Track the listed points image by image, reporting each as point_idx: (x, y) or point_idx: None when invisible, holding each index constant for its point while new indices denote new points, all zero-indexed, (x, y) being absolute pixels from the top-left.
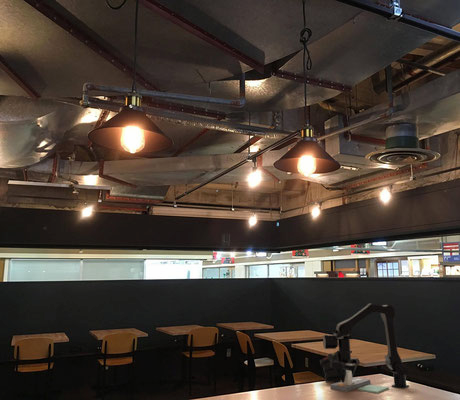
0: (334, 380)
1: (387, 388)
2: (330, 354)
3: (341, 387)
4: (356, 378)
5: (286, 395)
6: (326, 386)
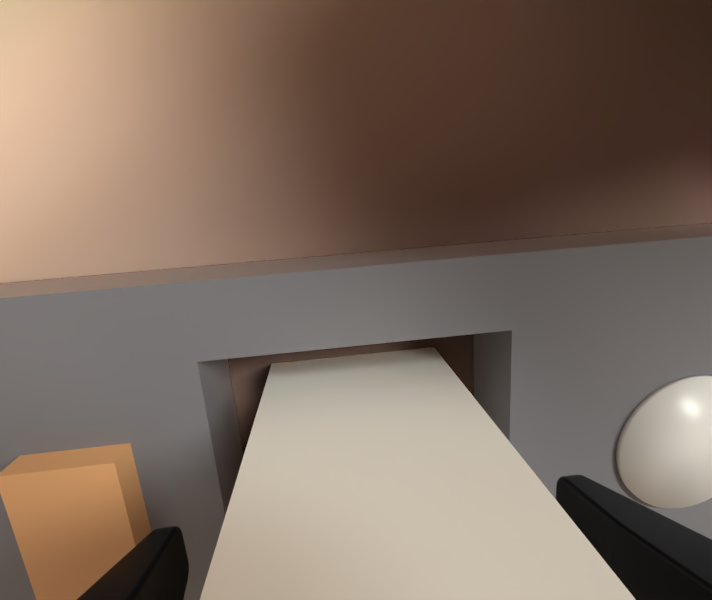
0: None
1: None
2: None
3: (2, 578)
4: None
5: None
6: (118, 21)
